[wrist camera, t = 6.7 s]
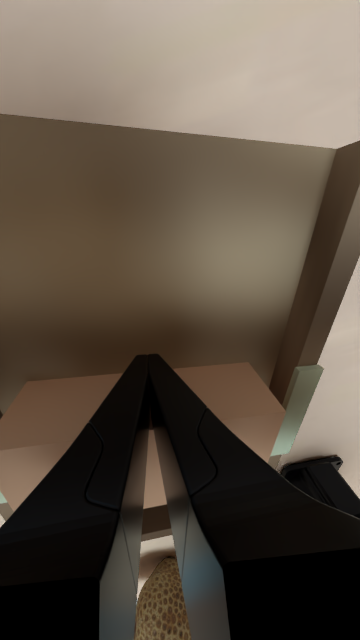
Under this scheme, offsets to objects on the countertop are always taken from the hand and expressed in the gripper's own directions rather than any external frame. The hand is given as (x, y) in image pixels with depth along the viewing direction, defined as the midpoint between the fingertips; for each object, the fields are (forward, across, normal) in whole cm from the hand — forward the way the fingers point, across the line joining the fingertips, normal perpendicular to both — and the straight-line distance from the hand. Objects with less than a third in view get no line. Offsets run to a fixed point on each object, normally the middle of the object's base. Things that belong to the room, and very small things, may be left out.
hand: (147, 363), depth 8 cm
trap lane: (+4, 0, +4) cm, 5 cm away
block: (+1, 0, +4) cm, 4 cm away
